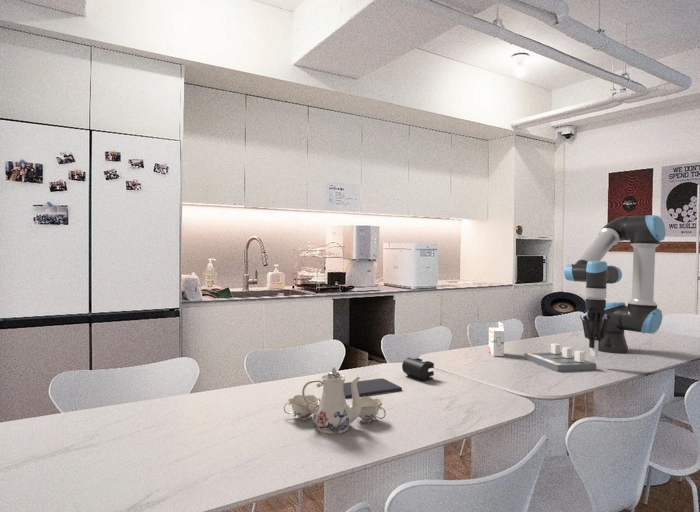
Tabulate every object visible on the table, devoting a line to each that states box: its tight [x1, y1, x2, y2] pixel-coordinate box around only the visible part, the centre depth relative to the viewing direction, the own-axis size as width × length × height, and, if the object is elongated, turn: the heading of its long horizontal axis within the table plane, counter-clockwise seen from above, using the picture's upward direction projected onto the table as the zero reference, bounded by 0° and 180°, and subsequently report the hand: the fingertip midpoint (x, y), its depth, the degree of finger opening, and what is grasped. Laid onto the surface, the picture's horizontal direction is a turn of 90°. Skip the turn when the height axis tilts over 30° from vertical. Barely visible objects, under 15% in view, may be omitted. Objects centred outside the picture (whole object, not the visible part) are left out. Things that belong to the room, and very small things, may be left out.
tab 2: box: [561, 346, 573, 358], centre depth 202 cm, size 2×3×4 cm
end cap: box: [401, 357, 435, 382], centre depth 176 cm, size 10×7×7 cm
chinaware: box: [283, 366, 387, 435], centre depth 130 cm, size 28×17×17 cm, turn 92°
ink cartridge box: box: [488, 321, 505, 357], centre depth 217 cm, size 9×5×15 cm, turn 179°
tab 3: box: [574, 350, 586, 362], centre depth 195 cm, size 2×3×4 cm
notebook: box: [344, 378, 403, 400], centre depth 161 cm, size 13×2×21 cm
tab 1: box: [550, 342, 561, 354], centre depth 209 cm, size 2×3×4 cm
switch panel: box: [523, 351, 597, 373], centre depth 201 cm, size 18×22×3 cm
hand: (593, 355), depth 196 cm, fingers closed
